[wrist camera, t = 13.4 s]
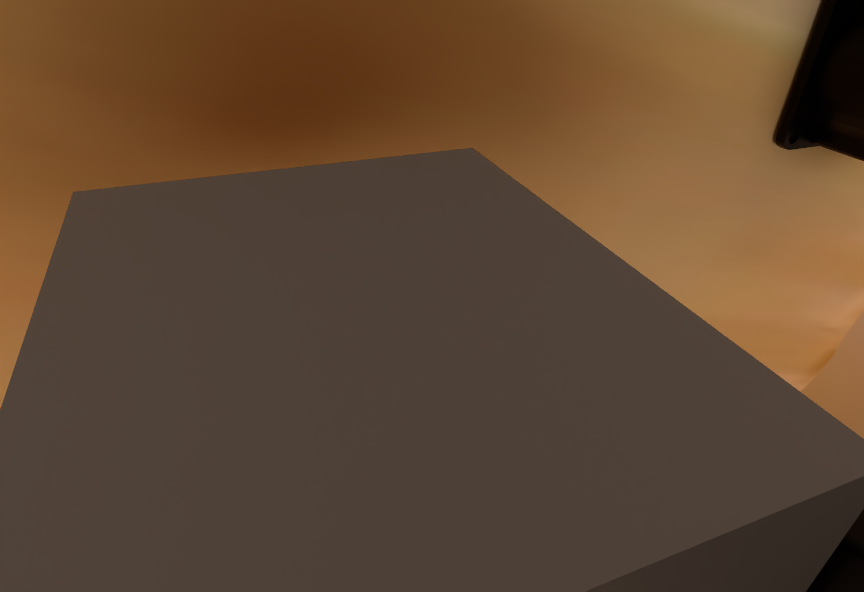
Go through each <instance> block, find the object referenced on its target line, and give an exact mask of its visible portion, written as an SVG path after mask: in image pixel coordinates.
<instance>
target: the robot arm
mask: <svg viewBox="0 0 864 592" xmlns="http://www.w3.org/2000/svg"><path fill="white" fill-rule="evenodd" d="M776 144H777V145H778V146H779V147H781V148H784V149H787V150H792V149H799V148H807V147H814V146H822V147H825V148H827V149H830V150H833V151H836V152H839V153H842V154H845V155H848V156H851V157H853V158H856V159H859V160H862V161H864V0H826V1H825V4H824V7H823V10H822V13H821V15H820V18H819V21H818V24H817V26H816V29H815V32H814V35H813V37H812V40H811V43H810V46H809V49H808V51H807V54H806V57H805V60H804V62H803V65H802V68H801V71H800V73H799V76H798V79H797V82H796V85H795V87H794V90H793V93H792V96H791V98H790V101H789V104H788V107H787V109H786V112H785V115H784V118H783V120H782V123H781V126H780V129H779V132H778V134H777V138H776ZM806 592H864V509H863V510H862V512H861V513H860V515H859V516H858V518H857V519H856V520H855V522H854V523H853V525H852V526H851V528H850V529H849V531H848V532H847V533H846V535H845V536H844V538H843V539H842V541H841V542H840V543H839V545H838V546H837V548H836V549H835V551H834V552H833V553H832V555H831V556H830V558H829V559H828V561H827V562H826V564H825V565H824V566H823V568H822V569H821V571H820V572H819V574H818V575H817V576H816V578H815V579H814V581H813V582H812V584H811V585H810V586H809V588H808V589H807V591H806Z"/></svg>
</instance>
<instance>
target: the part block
mask: <svg viewBox="0 0 864 592" xmlns="http://www.w3.org/2000/svg"><path fill="white" fill-rule="evenodd" d="M863 509H864V439H863V438H861V437H860V436H859V435H857V434H856V433H855V432H853V431H852V430H851V429H849V428H848V427H847V426H845V425H844V424H843V423H841V422H840V421H839V420H837V419H836V418H835V417H833V416H832V415H831V414H829V413H828V412H827V411H825V410H824V409H822V408H821V407H820V406H818V405H817V404H816V403H814V402H813V401H812V400H810V399H809V398H808V397H806V396H805V395H804V394H802V393H801V392H800V391H798V390H797V389H796V388H794V387H793V386H792V385H790V384H789V383H788V382H786V381H785V380H784V379H782V378H781V377H779V376H778V375H777V374H775V373H774V372H773V371H771V370H770V369H769V368H767V367H766V366H765V365H763V364H762V363H761V362H759V361H758V360H757V359H755V358H754V357H753V356H751V355H750V354H749V353H747V352H746V351H745V350H743V349H742V348H740V347H739V346H738V345H736V344H735V343H734V342H732V341H731V340H730V339H728V338H727V337H726V336H724V335H723V334H722V333H720V332H719V331H718V330H716V329H715V328H714V327H712V326H711V325H710V324H708V323H707V322H706V321H704V320H703V319H702V318H700V317H699V316H697V315H696V314H695V313H693V312H692V311H691V310H689V309H688V308H687V307H685V306H684V305H683V304H681V303H680V302H679V301H677V300H676V299H675V298H673V297H672V296H671V295H669V294H668V293H667V292H665V291H664V290H663V289H661V288H660V287H658V286H657V285H656V284H654V283H653V282H652V281H650V280H649V279H648V278H646V277H645V276H644V275H642V274H641V273H640V272H638V271H637V270H636V269H634V268H633V267H632V266H630V265H629V264H628V263H626V262H625V261H624V260H622V259H621V258H620V257H618V256H617V255H615V254H614V253H613V252H611V251H610V250H609V249H607V248H606V247H605V246H603V245H602V244H601V243H599V242H598V241H597V240H595V239H594V238H593V237H591V236H590V235H589V234H587V233H586V232H585V231H583V230H582V229H581V228H579V227H578V226H576V225H575V224H574V223H572V222H571V221H570V220H568V219H567V218H566V217H564V216H563V215H562V214H560V213H559V212H558V211H556V210H555V209H554V208H552V207H551V206H550V205H548V204H547V203H546V202H544V201H543V200H542V199H540V198H539V197H538V196H536V195H535V194H533V193H532V192H531V191H529V190H528V189H527V188H525V187H524V186H523V185H521V184H520V183H519V182H517V181H516V180H515V179H513V178H512V177H511V176H509V175H508V174H507V173H505V172H504V171H503V170H501V169H500V168H499V167H497V166H496V165H494V164H493V163H492V162H490V161H489V160H488V159H486V158H485V157H484V156H482V155H481V154H480V153H478V152H477V151H476V150H474V149H473V148H467V149H458V150H449V151H440V152H431V153H422V154H413V155H404V156H395V157H386V158H377V159H368V160H359V161H350V162H341V163H332V164H323V165H314V166H304V167H295V168H286V169H277V170H268V171H259V172H250V173H241V174H232V175H223V176H214V177H205V178H196V179H187V180H178V181H169V182H160V183H151V184H142V185H132V186H123V187H114V188H105V189H96V190H87V191H78V192H73V195H72V198H71V201H70V204H69V207H68V210H67V213H66V216H65V219H64V222H63V225H62V228H61V230H60V233H59V236H58V239H57V242H56V245H55V248H54V251H53V254H52V257H51V260H50V263H49V266H48V269H47V272H46V275H45V278H44V281H43V284H42V287H41V290H40V293H39V296H38V299H37V302H36V305H35V308H34V311H33V314H32V317H31V320H30V323H29V326H28V329H27V332H26V335H25V338H24V341H23V344H22V347H21V350H20V353H19V356H18V359H17V362H16V365H15V368H14V371H13V374H12V377H11V380H10V382H9V385H8V388H7V391H6V394H5V397H4V400H3V403H2V406H1V409H0V592H806V591H807V589H808V588H809V586H810V585H811V584H812V582H813V581H814V579H815V578H816V576H817V575H818V574H819V572H820V571H821V569H822V568H823V566H824V565H825V564H826V562H827V561H828V559H829V558H830V556H831V555H832V553H833V552H834V551H835V549H836V548H837V546H838V545H839V543H840V542H841V541H842V539H843V538H844V536H845V535H846V533H847V532H848V531H849V529H850V528H851V526H852V525H853V523H854V522H855V520H856V519H857V518H858V516H859V515H860V513H861V512H862V510H863Z"/></svg>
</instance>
